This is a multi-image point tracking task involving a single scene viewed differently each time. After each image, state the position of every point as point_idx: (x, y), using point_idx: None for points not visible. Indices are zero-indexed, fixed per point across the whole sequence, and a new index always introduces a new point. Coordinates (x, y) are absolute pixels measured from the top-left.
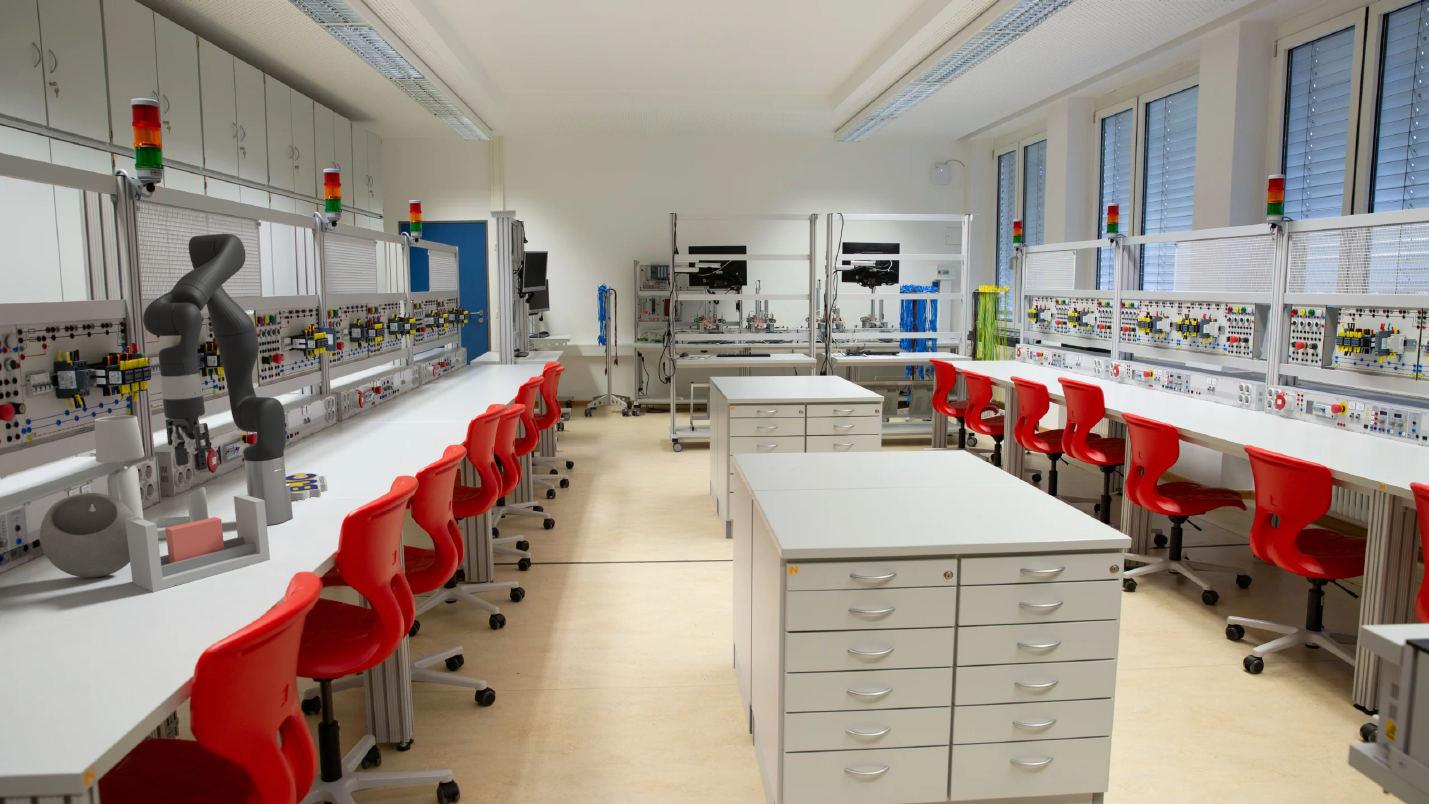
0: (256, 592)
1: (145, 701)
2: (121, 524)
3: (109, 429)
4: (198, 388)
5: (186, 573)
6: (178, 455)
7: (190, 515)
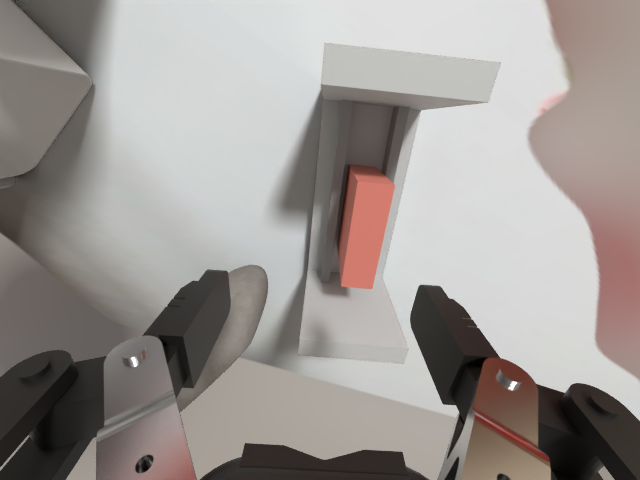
0: (536, 214)
1: (628, 401)
2: (256, 328)
3: None
4: None
5: (388, 246)
6: (208, 344)
7: (45, 64)
